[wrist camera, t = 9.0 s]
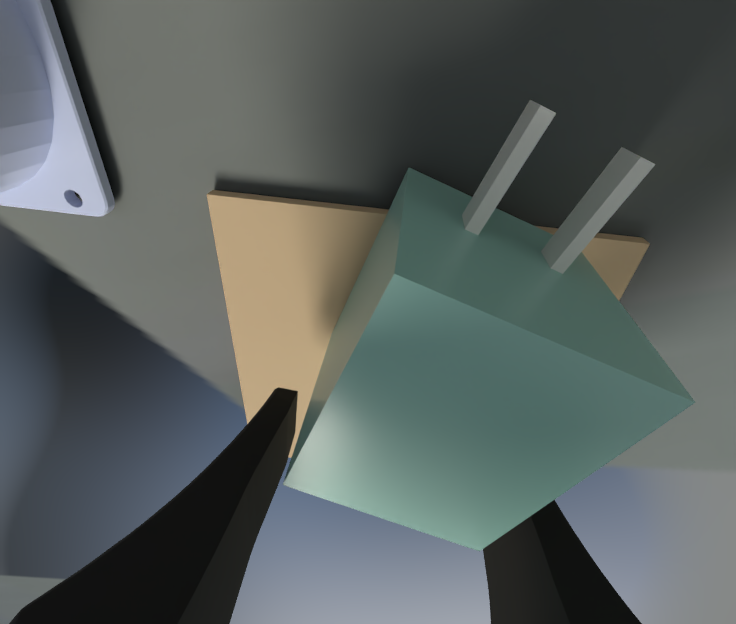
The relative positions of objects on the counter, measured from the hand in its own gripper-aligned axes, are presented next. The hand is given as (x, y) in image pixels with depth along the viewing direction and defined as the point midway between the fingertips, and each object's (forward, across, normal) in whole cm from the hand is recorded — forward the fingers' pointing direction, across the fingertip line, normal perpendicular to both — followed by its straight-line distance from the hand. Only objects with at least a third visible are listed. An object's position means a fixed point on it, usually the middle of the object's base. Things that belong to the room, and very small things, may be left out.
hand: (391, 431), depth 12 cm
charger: (+2, -1, -5) cm, 5 cm away
